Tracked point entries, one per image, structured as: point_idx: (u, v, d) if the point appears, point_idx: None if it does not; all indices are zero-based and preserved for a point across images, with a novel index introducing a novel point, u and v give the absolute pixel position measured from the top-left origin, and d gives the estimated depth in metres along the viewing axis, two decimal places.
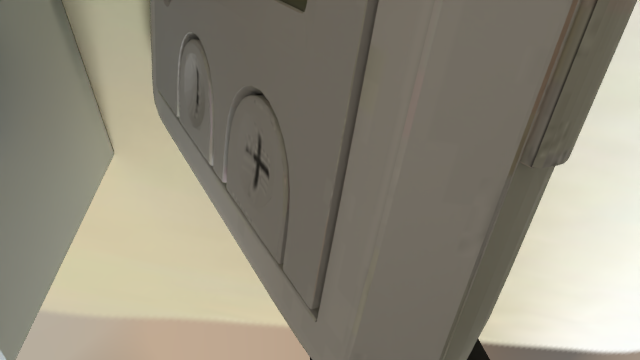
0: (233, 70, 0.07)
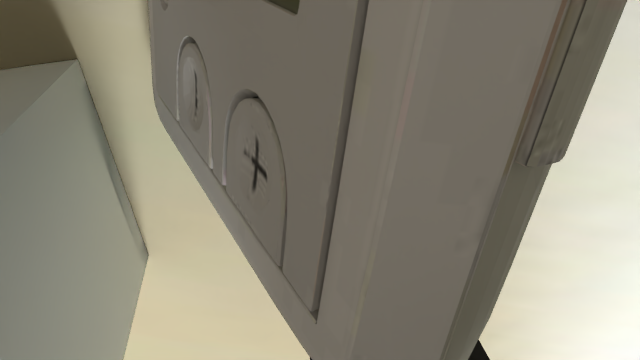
0: (229, 73, 0.07)
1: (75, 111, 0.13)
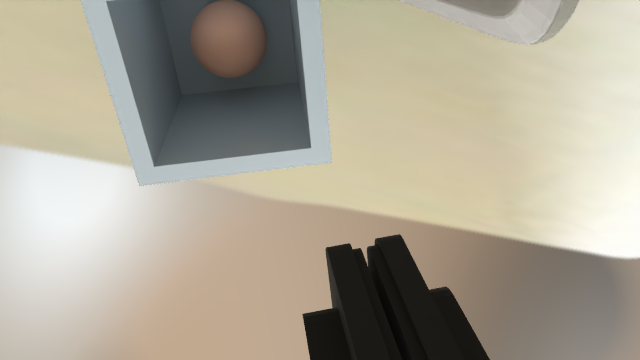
0: None
1: None
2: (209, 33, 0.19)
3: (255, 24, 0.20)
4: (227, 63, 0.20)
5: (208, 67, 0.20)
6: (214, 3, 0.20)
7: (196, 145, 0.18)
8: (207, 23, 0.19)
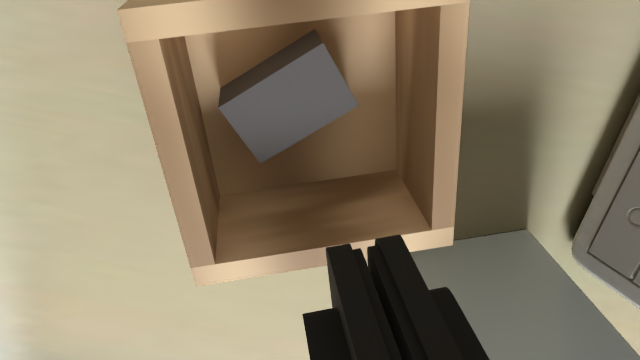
0: None
1: None
2: None
3: None
4: None
5: None
6: None
7: None
8: None
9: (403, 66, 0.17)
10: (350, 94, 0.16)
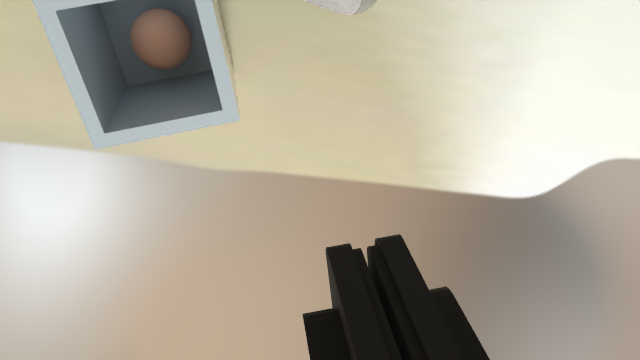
0: None
1: None
2: (146, 37, 0.25)
3: (180, 26, 0.26)
4: (163, 59, 0.26)
5: (148, 63, 0.26)
6: (146, 12, 0.25)
7: (137, 117, 0.24)
8: (143, 29, 0.25)
9: None
10: None
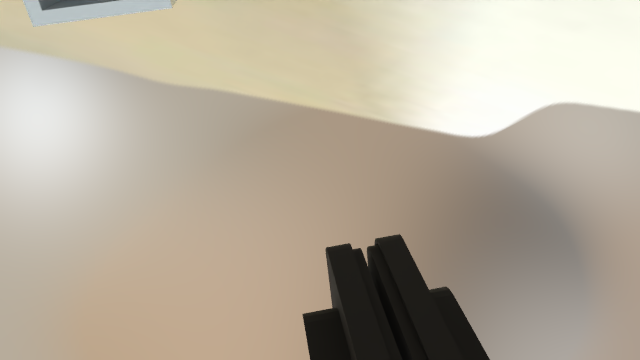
0: None
1: None
2: None
3: None
4: None
5: None
6: None
7: (77, 2, 0.25)
8: None
9: None
10: None
